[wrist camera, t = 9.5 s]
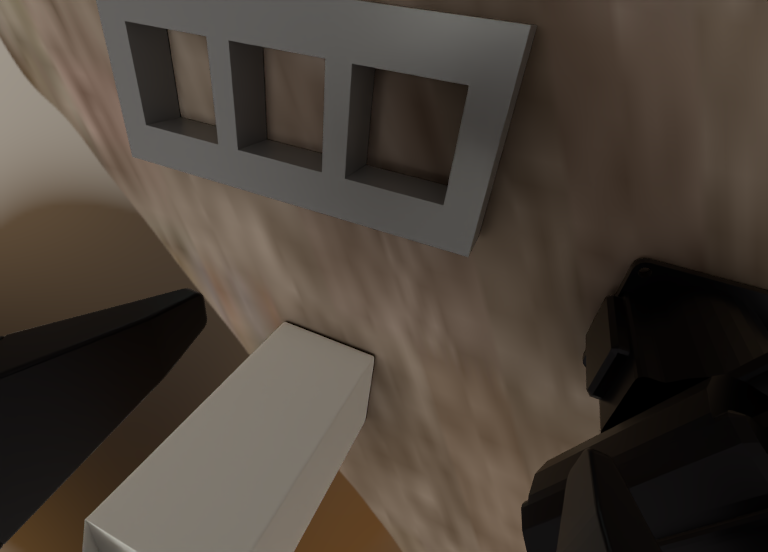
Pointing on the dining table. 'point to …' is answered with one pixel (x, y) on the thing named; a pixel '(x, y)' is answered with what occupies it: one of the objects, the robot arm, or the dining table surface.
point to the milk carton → (245, 455)
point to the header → (341, 103)
